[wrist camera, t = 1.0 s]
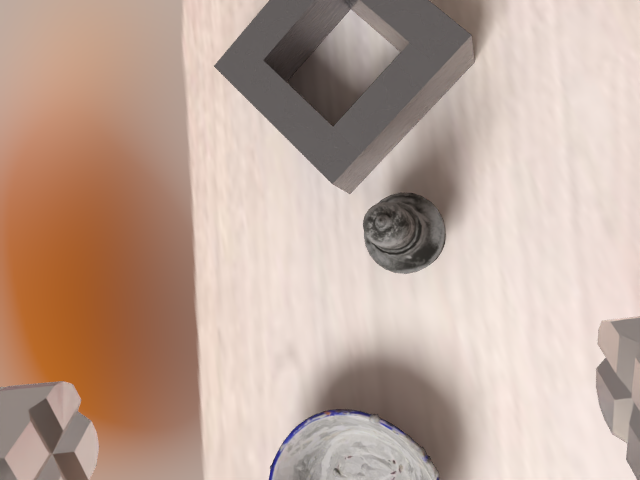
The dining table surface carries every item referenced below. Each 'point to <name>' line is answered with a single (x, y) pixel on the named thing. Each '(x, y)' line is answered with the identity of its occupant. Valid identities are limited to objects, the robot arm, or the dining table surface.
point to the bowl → (350, 450)
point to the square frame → (375, 103)
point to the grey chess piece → (404, 233)
